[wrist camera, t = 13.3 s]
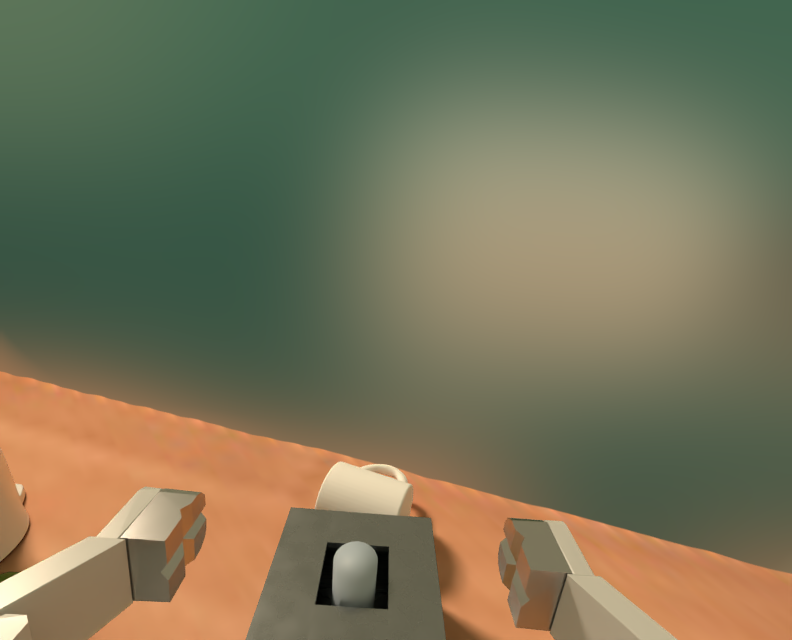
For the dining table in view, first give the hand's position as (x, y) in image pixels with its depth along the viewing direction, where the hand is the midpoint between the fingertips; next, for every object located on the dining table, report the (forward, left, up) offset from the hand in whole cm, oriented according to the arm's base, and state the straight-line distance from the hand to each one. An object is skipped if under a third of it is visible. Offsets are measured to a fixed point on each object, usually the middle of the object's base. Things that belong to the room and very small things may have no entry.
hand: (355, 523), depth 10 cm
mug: (+1, +32, -31) cm, 45 cm away
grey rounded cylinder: (0, +16, -30) cm, 34 cm away
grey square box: (0, +16, -31) cm, 35 cm away
